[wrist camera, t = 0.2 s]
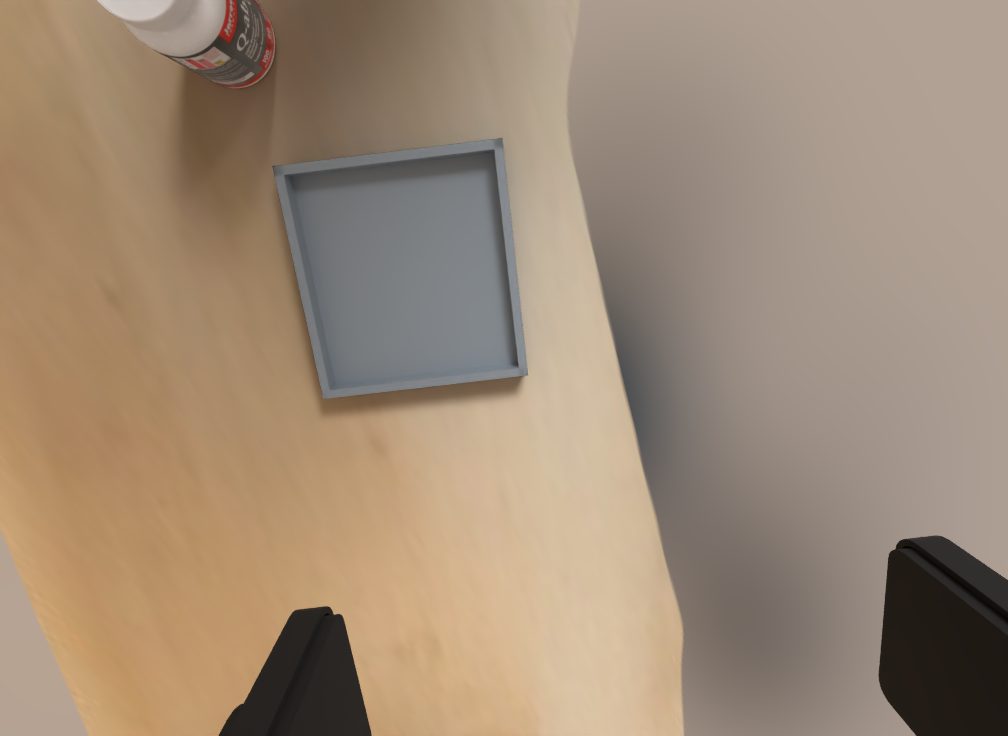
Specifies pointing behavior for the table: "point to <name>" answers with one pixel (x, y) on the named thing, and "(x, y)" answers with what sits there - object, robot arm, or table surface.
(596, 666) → the table surface
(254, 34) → the pill bottle
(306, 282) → the slate tray
